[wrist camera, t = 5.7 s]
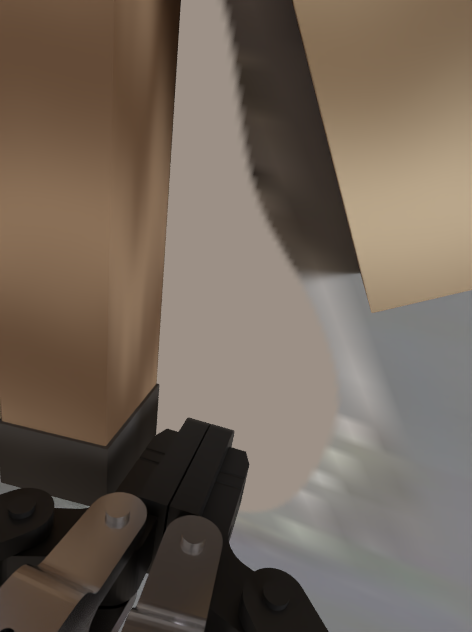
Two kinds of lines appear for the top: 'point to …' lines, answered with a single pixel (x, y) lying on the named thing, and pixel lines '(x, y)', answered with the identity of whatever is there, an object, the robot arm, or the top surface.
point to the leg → (82, 236)
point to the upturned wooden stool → (398, 137)
